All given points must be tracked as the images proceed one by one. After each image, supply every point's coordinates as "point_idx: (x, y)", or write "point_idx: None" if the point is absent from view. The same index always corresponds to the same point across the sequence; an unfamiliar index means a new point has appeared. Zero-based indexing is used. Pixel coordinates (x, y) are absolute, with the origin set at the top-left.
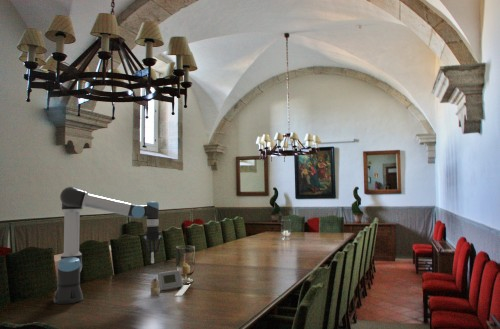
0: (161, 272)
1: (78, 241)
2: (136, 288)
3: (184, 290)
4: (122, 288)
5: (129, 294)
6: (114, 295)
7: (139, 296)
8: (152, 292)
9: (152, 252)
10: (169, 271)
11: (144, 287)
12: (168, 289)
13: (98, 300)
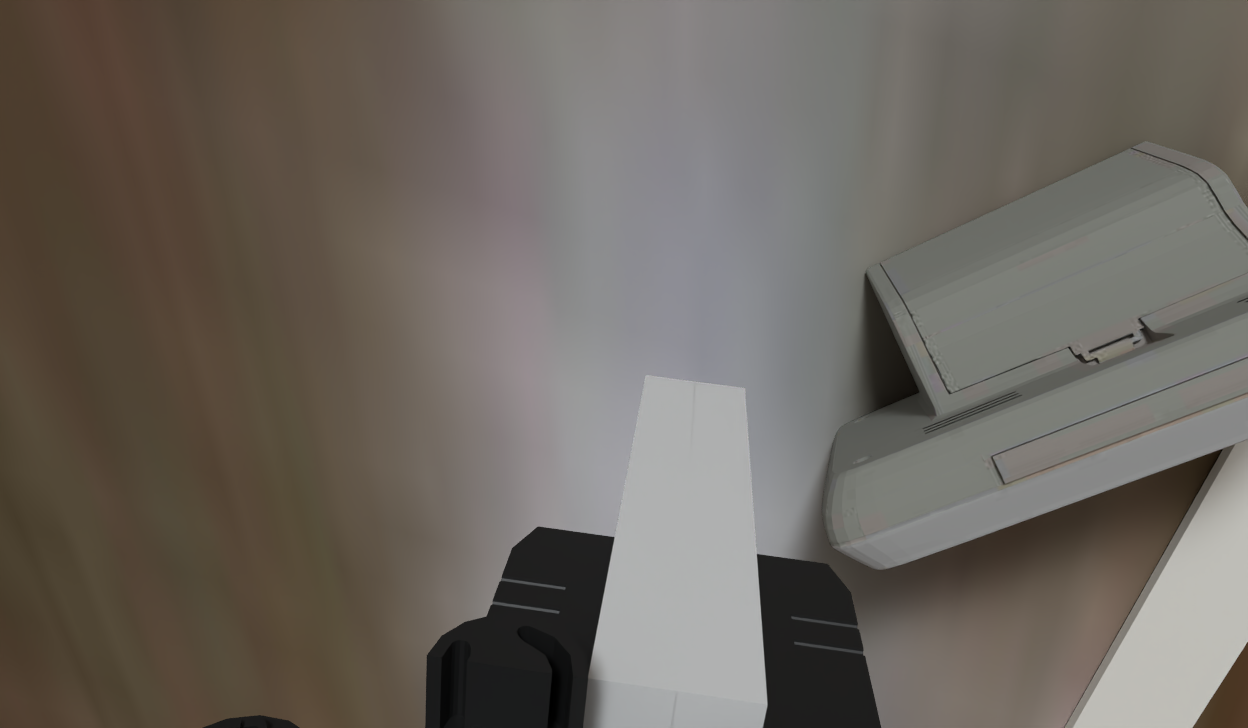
0: (936, 526)
1: None
2: (384, 113)
3: (1243, 612)
4: (103, 25)
5: (345, 536)
6: (134, 527)
7: None
8: None
9: (644, 699)
10: (1195, 442)
11: (536, 63)
12: (992, 406)
13: (18, 713)
